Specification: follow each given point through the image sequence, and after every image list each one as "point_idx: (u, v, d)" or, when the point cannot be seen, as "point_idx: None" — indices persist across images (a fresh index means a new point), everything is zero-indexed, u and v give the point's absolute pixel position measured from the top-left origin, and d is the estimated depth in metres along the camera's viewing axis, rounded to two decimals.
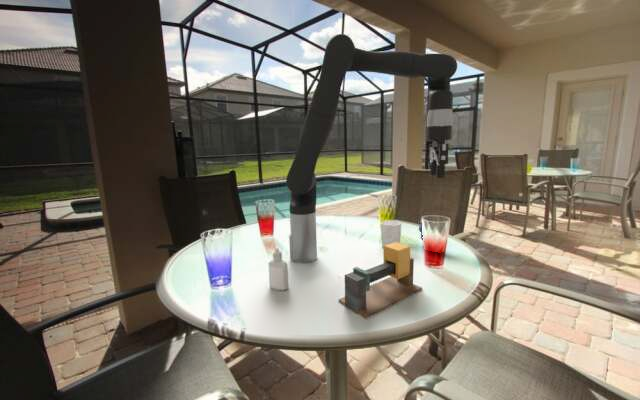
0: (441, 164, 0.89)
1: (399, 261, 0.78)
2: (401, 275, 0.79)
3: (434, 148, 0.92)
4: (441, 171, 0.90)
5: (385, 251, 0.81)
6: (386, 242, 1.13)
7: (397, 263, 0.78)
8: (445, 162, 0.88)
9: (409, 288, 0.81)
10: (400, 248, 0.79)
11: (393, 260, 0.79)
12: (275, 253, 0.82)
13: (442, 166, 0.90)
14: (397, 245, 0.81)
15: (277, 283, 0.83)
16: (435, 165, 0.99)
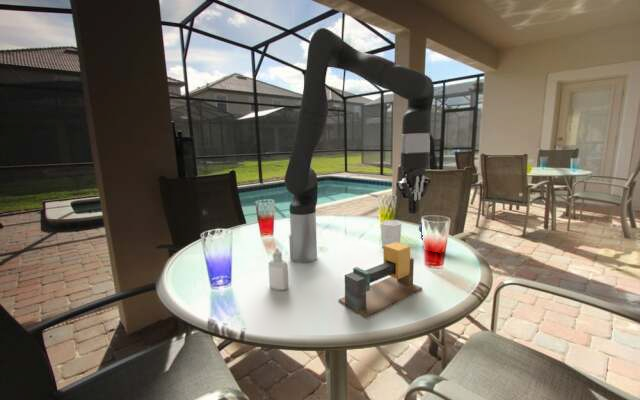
0: (407, 198, 0.81)
1: (399, 261, 0.78)
2: (401, 275, 0.79)
3: None
4: (410, 206, 0.82)
5: (385, 251, 0.81)
6: (386, 242, 1.13)
7: (397, 263, 0.78)
8: (408, 197, 0.80)
9: (409, 288, 0.81)
10: (400, 248, 0.79)
11: (393, 260, 0.79)
12: (275, 253, 0.82)
13: (411, 201, 0.81)
14: (397, 245, 0.81)
15: (277, 283, 0.83)
16: None
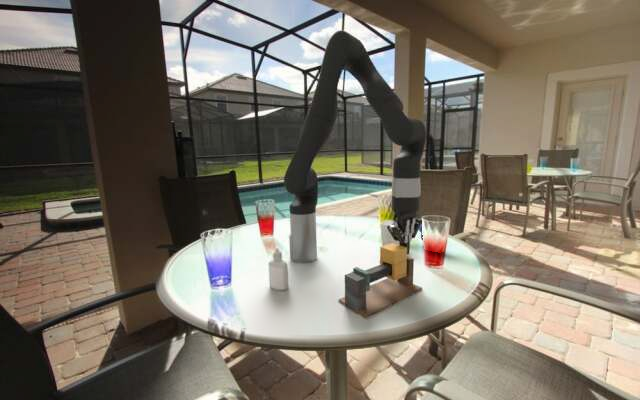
0: None
1: (396, 262, 0.77)
2: (398, 277, 0.78)
3: None
4: None
5: (382, 252, 0.80)
6: (386, 242, 1.13)
7: (394, 264, 0.77)
8: (399, 240, 0.80)
9: (409, 288, 0.81)
10: (397, 249, 0.78)
11: (390, 261, 0.78)
12: (275, 253, 0.82)
13: (401, 243, 0.81)
14: (394, 246, 0.80)
15: (277, 283, 0.83)
16: None
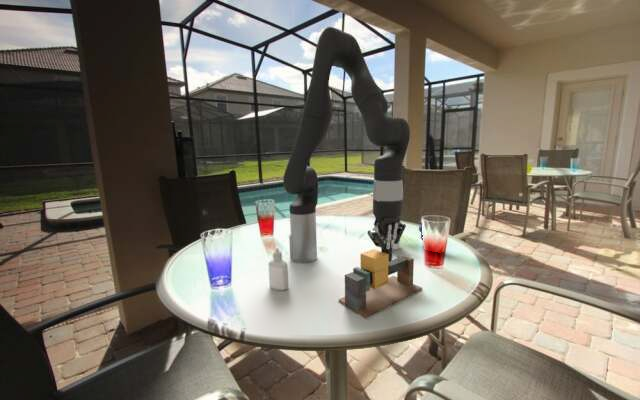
0: None
1: (376, 270, 0.73)
2: (379, 285, 0.74)
3: None
4: None
5: (362, 259, 0.75)
6: None
7: (374, 272, 0.73)
8: (380, 246, 0.76)
9: (409, 288, 0.81)
10: (377, 256, 0.73)
11: (370, 269, 0.74)
12: (275, 253, 0.82)
13: (383, 249, 0.77)
14: (375, 252, 0.76)
15: (277, 283, 0.83)
16: None
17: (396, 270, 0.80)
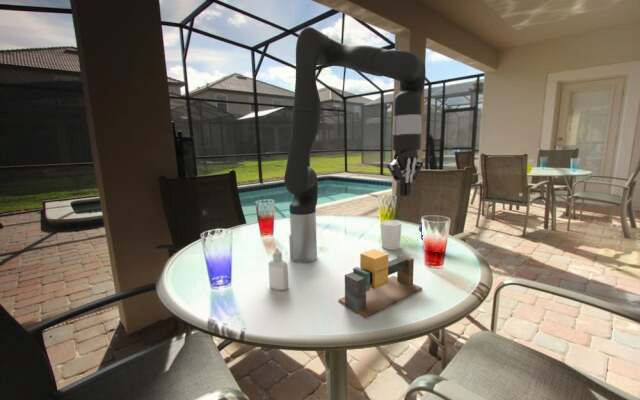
0: (399, 181, 0.81)
1: (376, 270, 0.73)
2: (379, 285, 0.74)
3: None
4: (402, 188, 0.82)
5: (362, 259, 0.75)
6: (386, 242, 1.13)
7: (374, 272, 0.73)
8: (399, 179, 0.80)
9: (409, 288, 0.81)
10: (377, 256, 0.73)
11: (370, 269, 0.73)
12: (275, 253, 0.82)
13: (402, 183, 0.82)
14: (375, 252, 0.76)
15: (277, 283, 0.83)
16: None
17: (396, 270, 0.80)
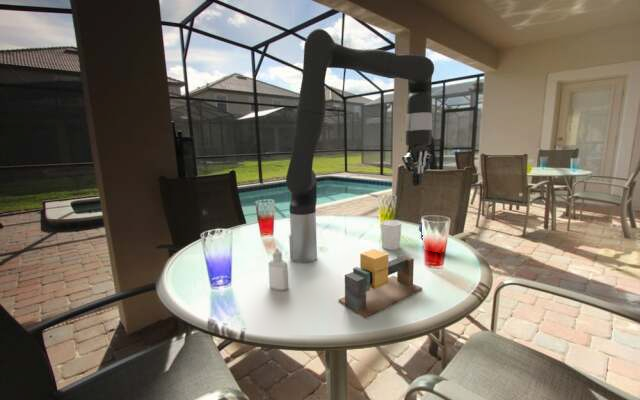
0: (411, 172, 0.91)
1: (376, 270, 0.73)
2: (379, 285, 0.74)
3: None
4: (414, 179, 0.92)
5: (362, 259, 0.75)
6: (386, 242, 1.13)
7: (374, 272, 0.73)
8: (412, 170, 0.90)
9: (409, 288, 0.81)
10: (377, 256, 0.73)
11: (370, 269, 0.73)
12: (275, 253, 0.82)
13: (414, 174, 0.91)
14: (375, 252, 0.76)
15: (277, 283, 0.83)
16: None
17: (396, 270, 0.80)
